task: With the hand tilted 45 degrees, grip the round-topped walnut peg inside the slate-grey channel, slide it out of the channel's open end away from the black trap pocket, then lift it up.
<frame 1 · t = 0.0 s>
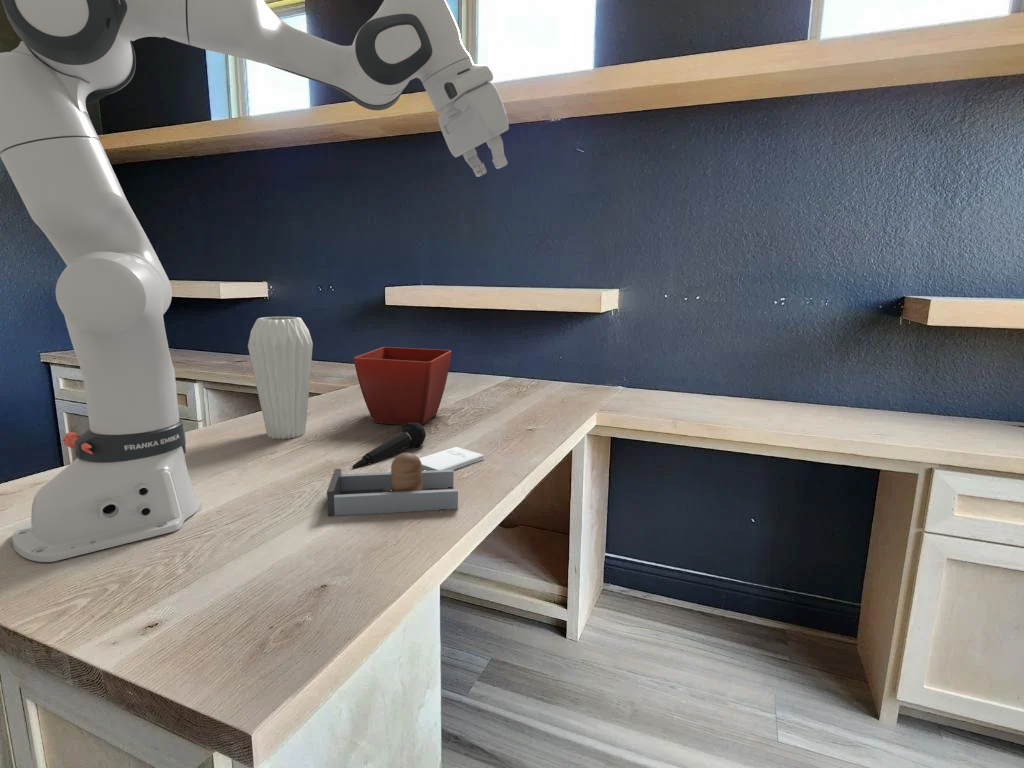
hand: (491, 171, 98), 54 cm above the worktop, tool tilted 30°, fingers open, 8 cm apart
channel: (419, 498, 94), on the worktop
vase: (286, 434, 129), on the worktop
microphone: (388, 455, 117), on the worktop
plant pot: (406, 419, 144), on the worktop
peg: (407, 499, 94), resting in channel
external hard drive: (447, 465, 112), on the worktop
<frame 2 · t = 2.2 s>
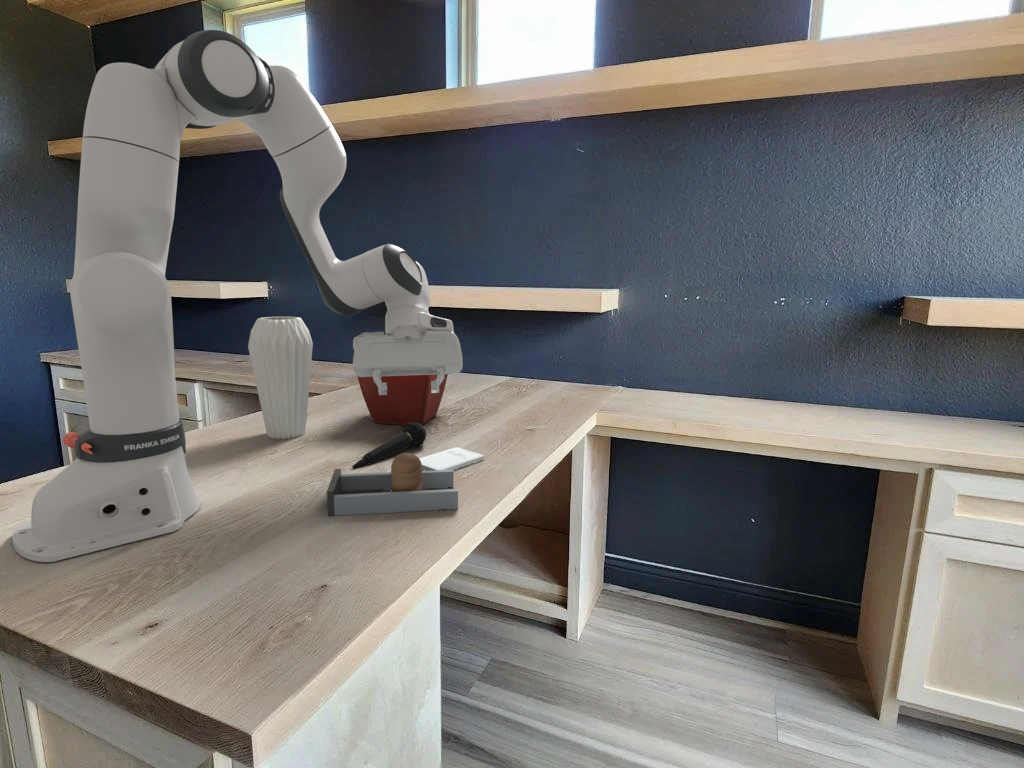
hand: (409, 392, 103), 15 cm above the worktop, tool tilted 45°, fingers open, 8 cm apart
nothing on the worktop moved.
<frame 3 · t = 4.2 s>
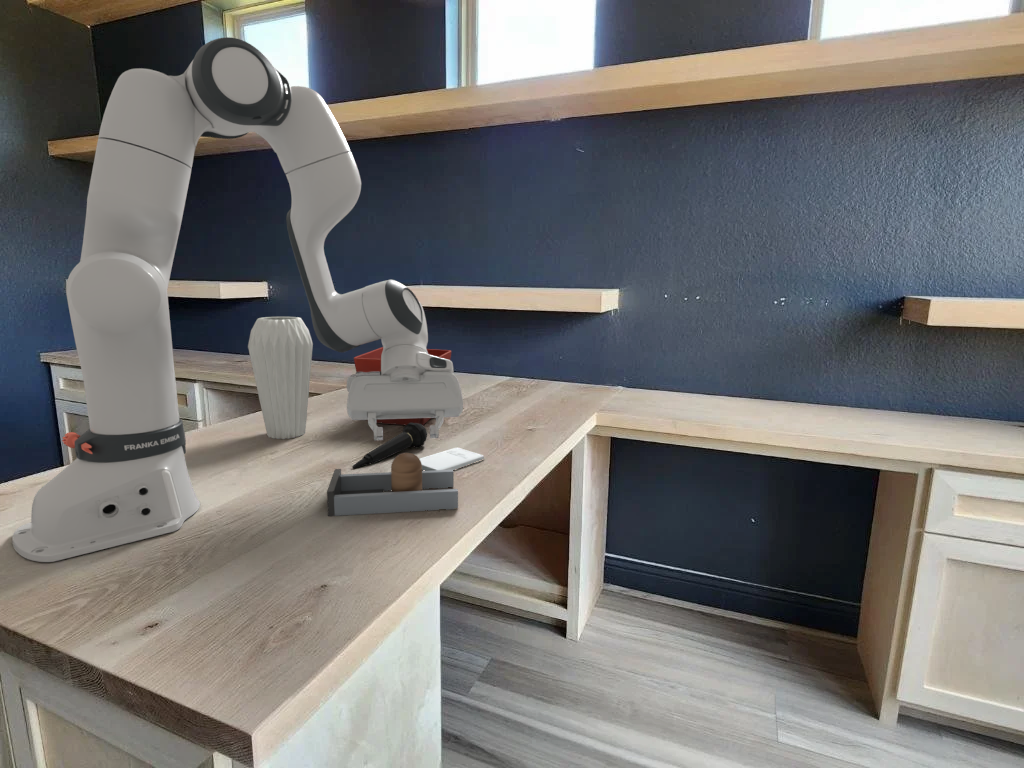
hand: (406, 437, 97), 9 cm above the worktop, tool tilted 45°, fingers open, 8 cm apart
nothing on the worktop moved.
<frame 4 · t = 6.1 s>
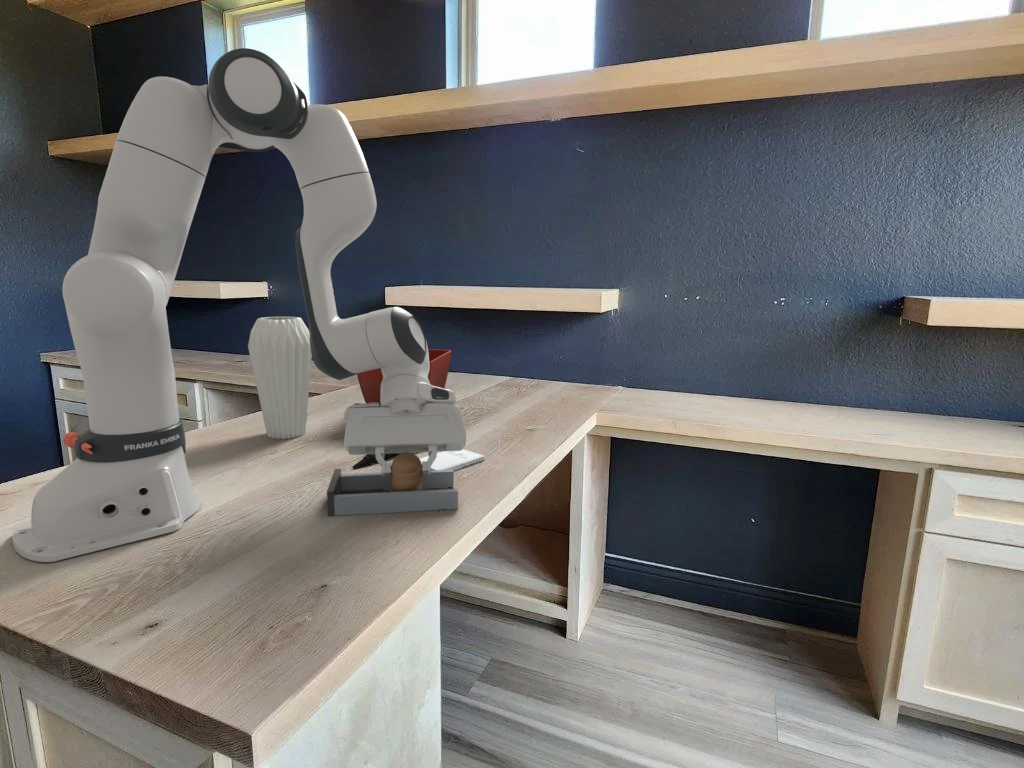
hand: (406, 474, 92), 5 cm above the worktop, tool tilted 45°, fingers closed on peg, 5 cm apart
peg: (407, 499, 94), resting in channel, touching gripper
everything else where it was.
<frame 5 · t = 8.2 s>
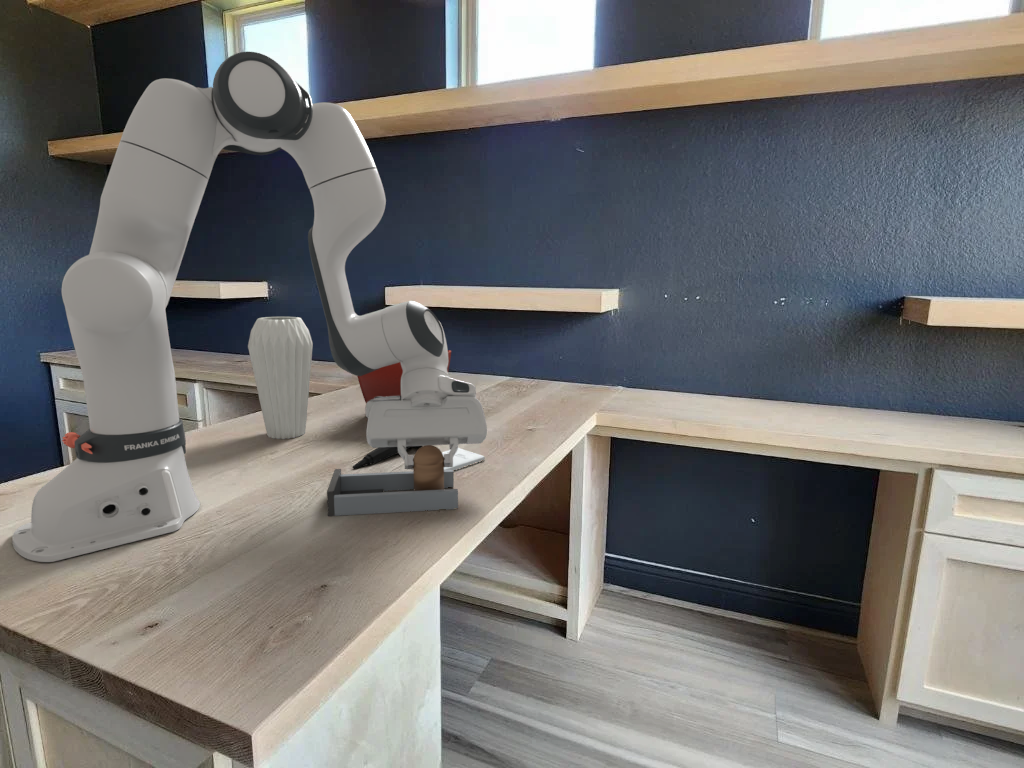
hand: (428, 466, 93), 6 cm above the worktop, tool tilted 45°, fingers closed on peg, 5 cm apart
peg: (429, 491, 95), point 1 cm above the worktop, touching gripper
everything else where it was.
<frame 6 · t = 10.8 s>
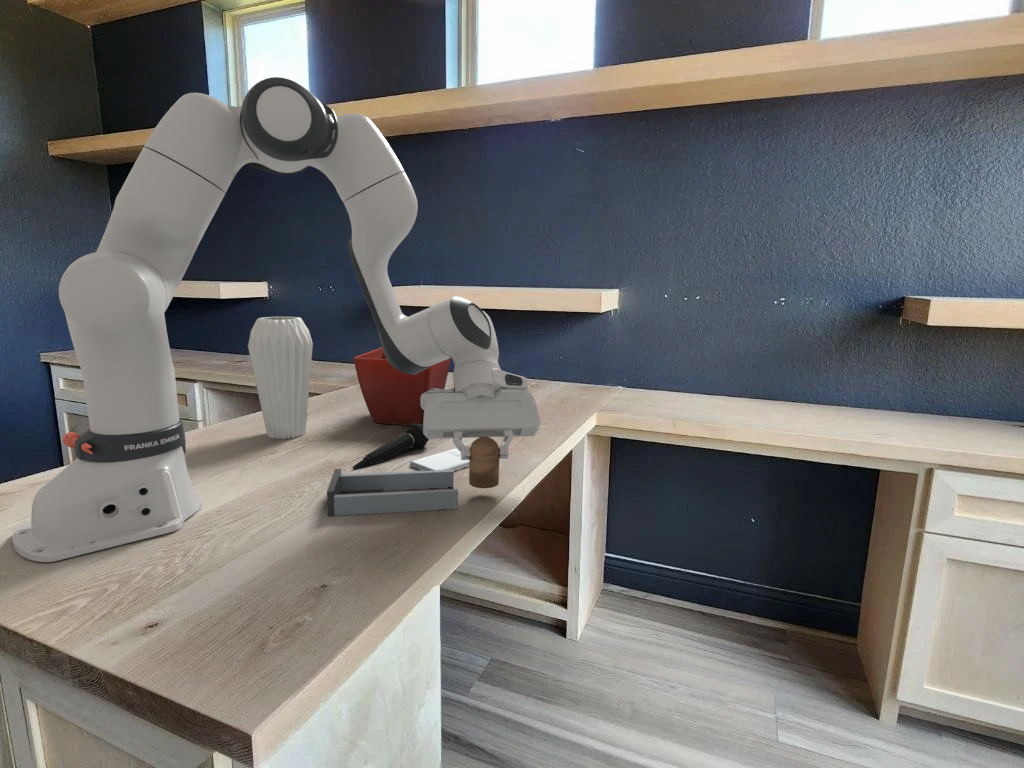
hand: (485, 457, 94), 7 cm above the worktop, tool tilted 45°, fingers closed on peg, 5 cm apart
peg: (483, 482, 96), point 2 cm above the worktop, touching gripper
everything else where it was.
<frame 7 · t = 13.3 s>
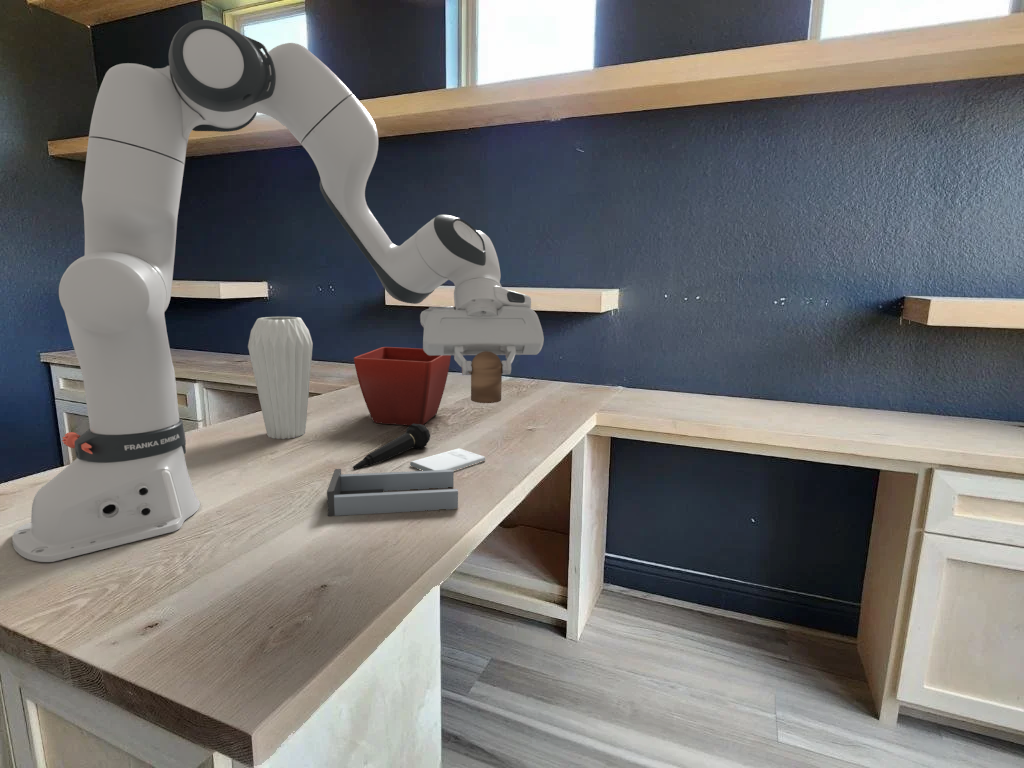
hand: (487, 372, 92), 21 cm above the worktop, tool tilted 45°, fingers closed on peg, 5 cm apart
peg: (486, 399, 93), point 17 cm above the worktop, touching gripper
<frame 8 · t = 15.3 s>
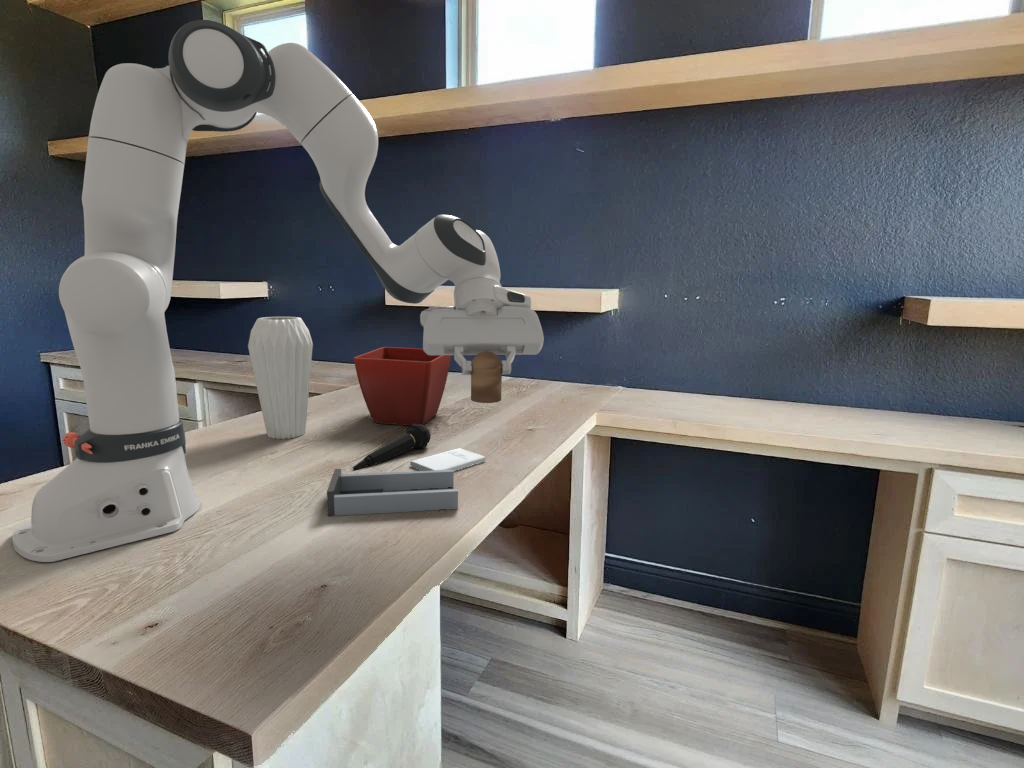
hand: (487, 372, 92), 21 cm above the worktop, tool tilted 45°, fingers closed on peg, 5 cm apart
peg: (486, 399, 93), point 17 cm above the worktop, touching gripper
at the end: peg inside the target area (0.7 cm from its centre), point 16.7 cm above the worktop; the gripper is holding peg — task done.
